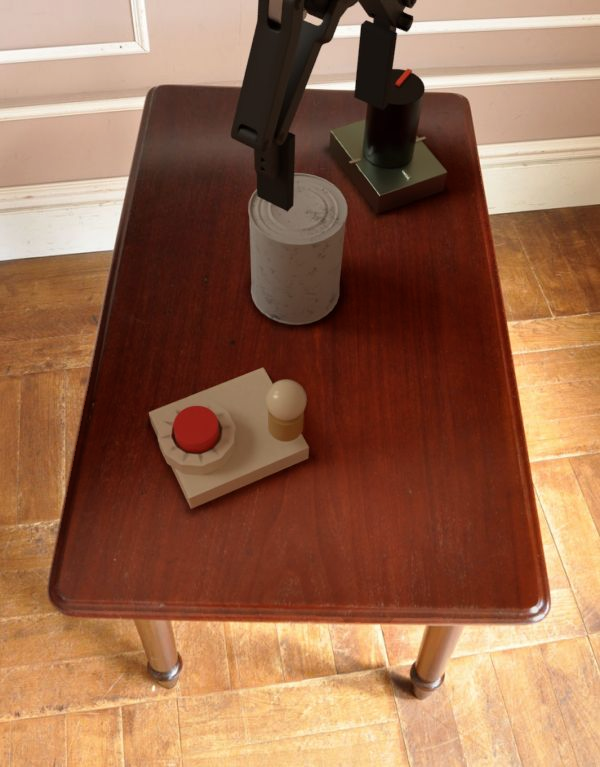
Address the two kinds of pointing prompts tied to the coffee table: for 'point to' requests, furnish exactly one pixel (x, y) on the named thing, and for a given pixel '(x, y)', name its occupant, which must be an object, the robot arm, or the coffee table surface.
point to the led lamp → (285, 409)
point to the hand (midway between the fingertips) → (325, 149)
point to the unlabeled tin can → (298, 252)
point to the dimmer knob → (394, 122)
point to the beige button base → (227, 440)
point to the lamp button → (196, 429)
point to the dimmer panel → (386, 171)
